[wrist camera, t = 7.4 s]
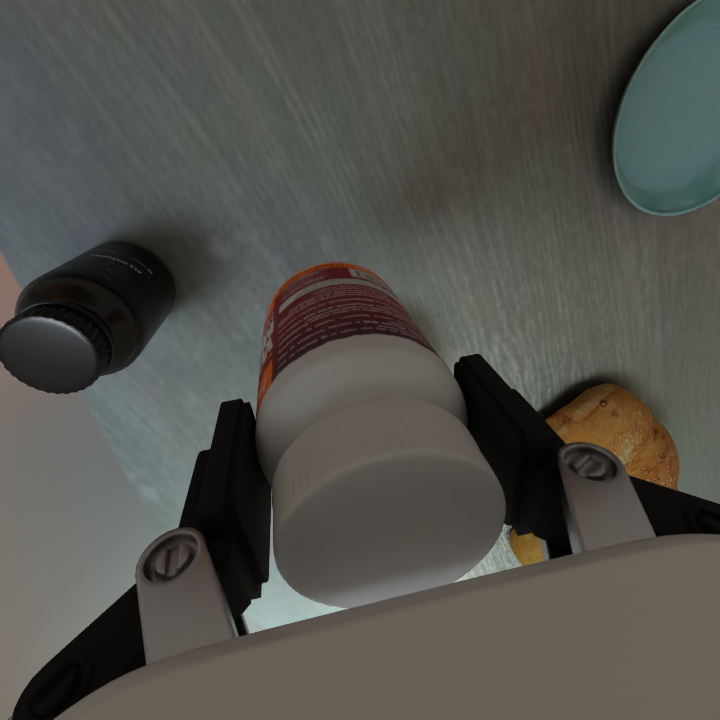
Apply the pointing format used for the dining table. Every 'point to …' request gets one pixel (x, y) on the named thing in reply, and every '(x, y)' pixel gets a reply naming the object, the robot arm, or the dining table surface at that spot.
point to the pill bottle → (366, 445)
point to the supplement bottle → (87, 318)
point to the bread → (610, 444)
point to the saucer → (673, 118)
